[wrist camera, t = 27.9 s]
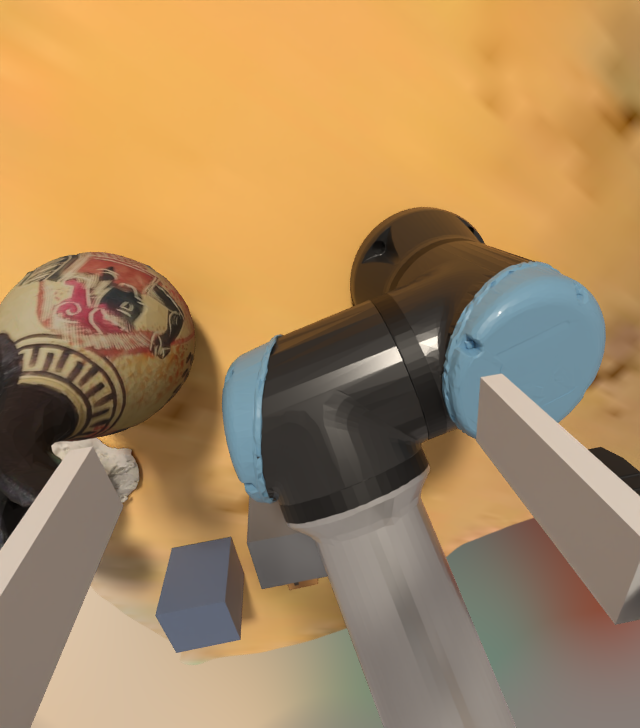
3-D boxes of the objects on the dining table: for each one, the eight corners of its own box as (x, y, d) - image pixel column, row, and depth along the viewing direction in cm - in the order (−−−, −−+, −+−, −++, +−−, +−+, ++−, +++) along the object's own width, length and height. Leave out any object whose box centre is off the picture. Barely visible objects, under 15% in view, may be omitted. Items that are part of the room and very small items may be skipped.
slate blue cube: (231, 536, 60) (224, 601, 51) (244, 573, 64) (240, 639, 55) (172, 548, 59) (155, 615, 50) (188, 584, 63) (176, 652, 55)
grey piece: (64, 637, 46) (-108, 640, 35) (101, 476, 59) (-18, 438, 47) (149, 615, 42) (-16, 611, 30) (169, 446, 54) (57, 397, 43)
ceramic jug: (232, 291, 43) (175, 497, 16) (168, 395, 48) (43, 685, 21) (71, 194, 37) (-433, 271, 10) (16, 324, 42) (-424, 604, 15)
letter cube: (310, 539, 62) (313, 566, 58) (314, 557, 64) (318, 584, 60) (282, 545, 62) (283, 572, 58) (287, 563, 64) (289, 591, 60)
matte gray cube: (312, 470, 56) (321, 528, 47) (320, 514, 60) (330, 575, 51) (250, 482, 55) (246, 542, 46) (262, 526, 59) (261, 589, 51)
